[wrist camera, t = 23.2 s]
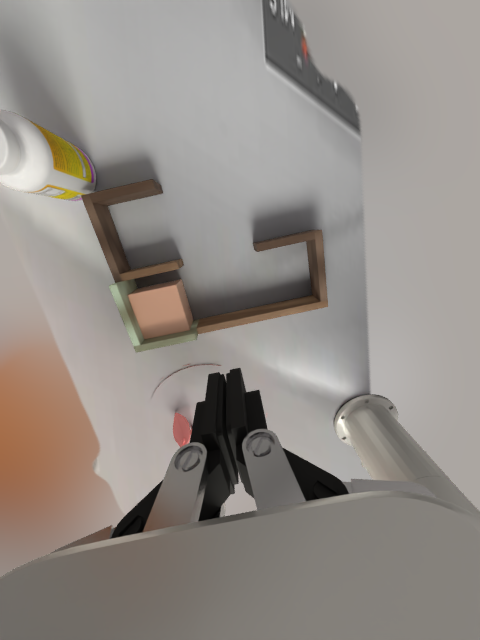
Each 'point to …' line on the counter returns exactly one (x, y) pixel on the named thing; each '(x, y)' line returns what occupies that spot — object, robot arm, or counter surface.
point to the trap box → (125, 276)
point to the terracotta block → (161, 309)
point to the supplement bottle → (42, 161)
